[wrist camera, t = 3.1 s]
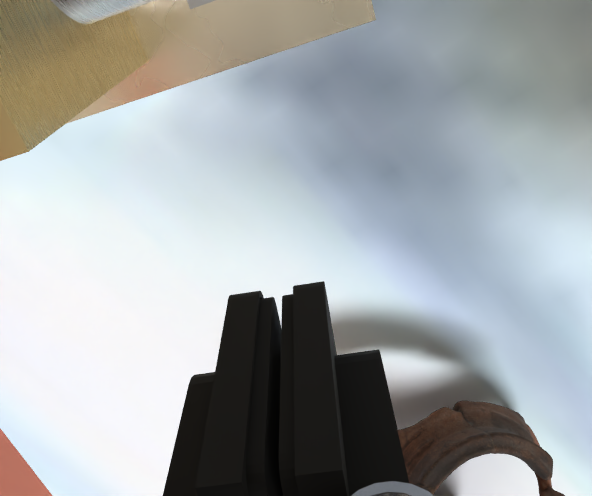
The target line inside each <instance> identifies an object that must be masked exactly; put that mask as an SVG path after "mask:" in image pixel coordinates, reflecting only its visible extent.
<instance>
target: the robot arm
mask: <svg viewBox="0 0 592 496" xmlns="http://www.w3.org/2000/svg"><path fill="white" fill-rule="evenodd" d="M163 496H434V495H432V494H431V493H430V492H429V491H427V490H424V489H422V488H420V487H418V486H415V485H413V484H409V479H408V475H407V470H406V466H405V461H404V457H403V453H402V448H401V444H400V439H399V435H398V430H397V426H396V421H395V417H394V412H393V408H392V403H391V399H390V394H389V390H388V385H387V381H386V377H385V372H384V368H383V363H382V359H381V355H380V351H379V350H372V351H365V352H358V353H350V354H343V355H337V354H336V348H335V342H334V336H333V330H332V324H331V318H330V312H329V307H328V301H327V295H326V289H325V284H324V282H317V283H310V284H303V285H296V286H293V294H291V295H285V296H283V297H282V330H281V325H280V321H279V316H278V312H277V307H276V303H275V299H274V298H273V297H271V298H263V295H262V292H261V291H256V292H249V293H242V294H235V295H230V296H229V299H228V304H227V310H226V315H225V321H224V326H223V332H222V338H221V343H220V349H219V354H218V360H217V366H216V371H215V372H212V373H205V374H198V375H194V376H193V377H192V378H191V380H190V383H189V386H188V391H187V395H186V399H185V403H184V408H183V412H182V416H181V420H180V425H179V429H178V433H177V438H176V442H175V446H174V450H173V455H172V459H171V463H170V467H169V472H168V476H167V480H166V484H165V489H164V493H163Z"/></svg>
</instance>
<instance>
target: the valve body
mask: <svg viewBox="0 0 592 496" xmlns="http://www.w3.org/2000/svg"><path fill="white" fill-rule="evenodd" d="M374 20H376V18H375V14H374V9H373V5H372V1H371V0H0V161H1V160H4V159H7V158H10V157H13V156H16V155H20V154H23V153H26V152H29V151H30V150H31V149H33V148H34V147H35V146H37V145H38V144H39V143H41V142H42V141H43V140H45V139H46V138H47V137H49V136H50V135H51V134H53V133H54V132H55V131H56V130H58V129H59V128H60V127H62V126H63V125H64V124H66V123H69V122H72V121H75V120H78V119H81V118H84V117H87V116H90V115H93V114H96V113H99V112H102V111H105V110H108V109H111V108H114V107H117V106H120V105H123V104H126V103H129V102H132V101H135V100H138V99H141V98H144V97H147V96H150V95H153V94H156V93H159V92H162V91H165V90H168V89H171V88H174V87H177V86H180V85H183V84H186V83H189V82H192V81H195V80H198V79H201V78H204V77H207V76H210V75H213V74H215V73H218V72H221V71H224V70H227V69H230V68H233V67H236V66H239V65H242V64H245V63H248V62H251V61H254V60H257V59H260V58H263V57H266V56H269V55H272V54H275V53H278V52H281V51H284V50H287V49H290V48H293V47H296V46H299V45H302V44H305V43H308V42H311V41H314V40H317V39H320V38H323V37H326V36H329V35H332V34H335V33H338V32H341V31H344V30H347V29H350V28H353V27H356V26H359V25H362V24H365V23H368V22H371V21H374Z"/></svg>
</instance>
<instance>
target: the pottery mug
mask: <svg viewBox="0 0 592 496" xmlns="http://www.w3.org/2000/svg"><path fill="white" fill-rule="evenodd" d="M398 435H399V439H400V444H401V448H402V453H403V457H404V461H405V466H406V470H407V475H408V479H409V484H413V485H415V486H418V487H420V488H422V489H424V490H427V491H429V492H430V493H431V494H432V495H434V493H435V491H436V490H437V489H438V488H439V486H440V485H441V483H442V482H443V481H444V480H445V479H446V478H447V477H448V476H449V475H450V474H451V473H452V472H453V471H454V470H455V469H457V468H458V467H459V466H460V465H462V464H463V463H465V462H466V461H468V460H470V459H471V458H474V457H478V456H481V455H484V454H490V453H493V454H496V453H499V454H509V455H513V456H515V457H518V458H520V459H521V460H523V461H524V462H525V463H526V464H528V466H529V467H530V468H531V469H532V470H533V471H534V472H535V475H536V477H537V480H538V485H539V494H540V496H565V495H563V494H561V493H559V492H557V491H555V490H553V489H552V485H551V478H552V471H553V459H552V457H551V456H550V455H549V454H548V453H547V452H546V451H545V450H543V449H542V448H541V447H540V445H539V443H538V441H537V438H536V437H535V435H534V433H533V431H532V430H531V428H530V427H529V426H528V425H527V424H526V423H525V421H524V419H523V417H522V416H521V415H520V414H519V413H517V412H515V411H513V410H511V409H509V408H505V407H502V406H499V405H495V404H492V403H486V402H472V401H460V402H457V403H456V404H455V406H454V408H453V410H452V409H450V408H448V407H443V408H441V409H439V410H437V411H435V412H433V413H431V414H430V415H429V416H428V417H427V418H425V419H423V420H421V421H420V422H418V423H417V424H415V425H413V426H411V427H408V428H405V429H401V430H398Z"/></svg>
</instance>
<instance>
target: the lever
mask: <svg viewBox="0 0 592 496" xmlns="http://www.w3.org/2000/svg"><path fill="white" fill-rule="evenodd" d="M0 496H52V495H51V493H50V492H49V491H48V489H47V488H46V487H45V486H44V484H43V483H42V482H41V480H40V479H39V478H38V477H37V475H36V474H35V473H34V471H33V470H32V469H31V467H30V466H29V465H28V464H27V462H26V461H25V460H24V458H23V457H22V456H21V455H20V453H19V452H18V451H17V449H16V448H15V447H14V446H13V444H12V443H11V442H10V440H9V439H8V438H7V436H6V435H5V434H4V433H3V431H2V430H1V429H0Z"/></svg>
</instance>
